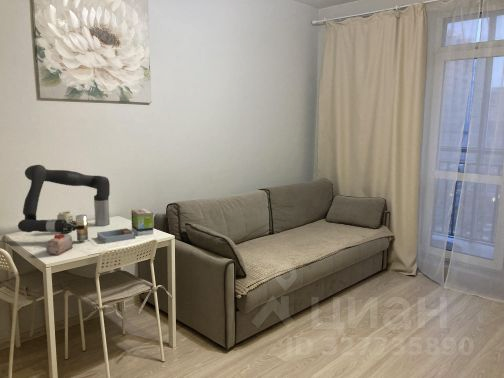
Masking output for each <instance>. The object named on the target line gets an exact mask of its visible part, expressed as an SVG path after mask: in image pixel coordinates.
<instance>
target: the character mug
mask: <svg viewBox="0 0 504 378" xmlns="http://www.w3.org/2000/svg"><path fill="white" fill-rule="evenodd" d="M56 216H57V217H56V219H65V220H66V222H67V223H69V222H72V221H74V216H73V215H72V212H71V211H69V210H67V211H66V210H65V211H59V213H58V214H57V215H56ZM70 232H72V231H65V232H60V234H69V233H70Z"/></svg>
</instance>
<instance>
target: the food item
mask: <svg viewBox="0 0 504 378" xmlns="http://www.w3.org/2000/svg"><path fill="white" fill-rule="evenodd" d="M72 238H73V237H72V235H70V234H69V233H60V234H56V233H55V234H54V237H53V238H51V239H50V240H48V241H47V243H46V244H45V246H46V247H45V248H46V249H45V250H46V253H47V254H49V255H51V256H52V255H53V256H59V255H61V254H62V255H63V253H65V252H67V251H69V250H72V249H73V239H72Z"/></svg>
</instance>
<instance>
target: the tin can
mask: <svg viewBox="0 0 504 378" xmlns="http://www.w3.org/2000/svg"><path fill="white" fill-rule="evenodd" d="M75 221H76V225H77V226H78V225H84V229H77V230H75V231H76V240H77V241H80V242H82V241H88V240H89V229H88V228H89V227H88V226H89V224H88V225H87V222H88V215H87V214H78V215H76V216H75Z"/></svg>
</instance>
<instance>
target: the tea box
mask: <svg viewBox="0 0 504 378" xmlns="http://www.w3.org/2000/svg"><path fill="white" fill-rule="evenodd" d="M130 213H131V214H130V215H131V231H132V232H134V233H135V236H136V235H137V237H143V236H151V235H154V212H152V211H151V210H149V209H148V208H146V207H145V208H138V209H137V208H134V209H131V212H130Z"/></svg>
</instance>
